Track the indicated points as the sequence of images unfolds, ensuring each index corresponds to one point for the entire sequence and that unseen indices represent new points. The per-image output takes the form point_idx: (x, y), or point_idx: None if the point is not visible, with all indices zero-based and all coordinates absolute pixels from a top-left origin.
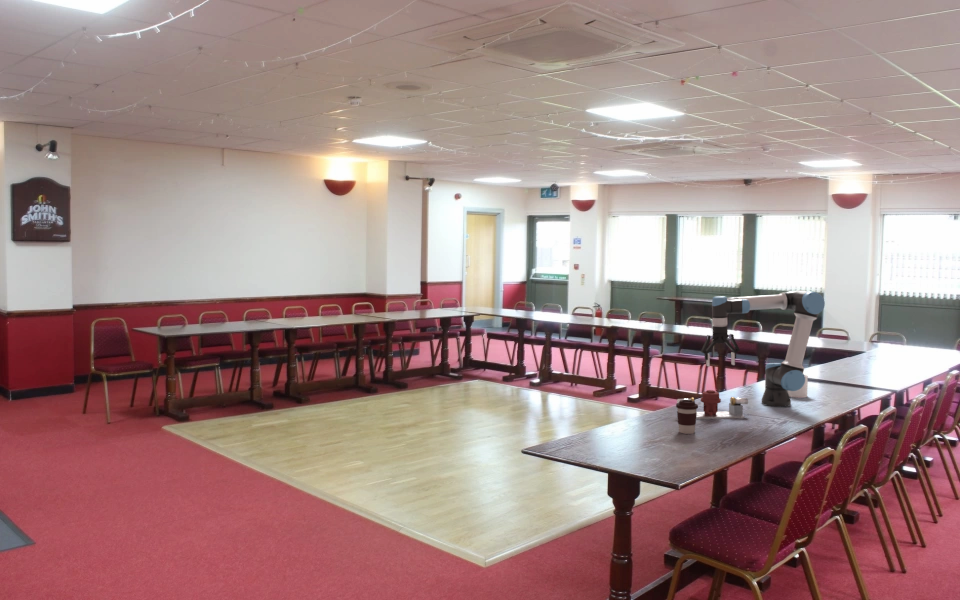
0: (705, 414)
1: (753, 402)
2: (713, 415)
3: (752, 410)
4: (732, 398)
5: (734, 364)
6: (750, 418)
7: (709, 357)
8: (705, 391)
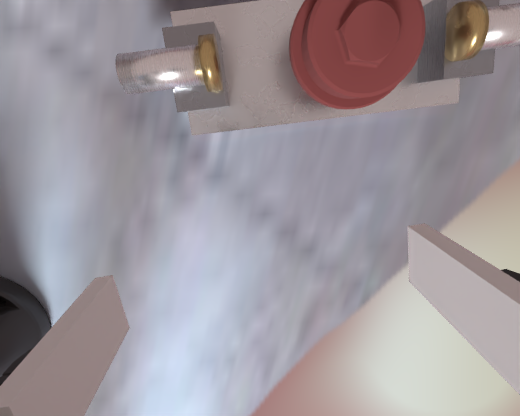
0: None
1: None
2: None
3: (107, 199)
4: (213, 45)
5: (95, 280)
6: (142, 15)
7: (488, 279)
8: (391, 79)
